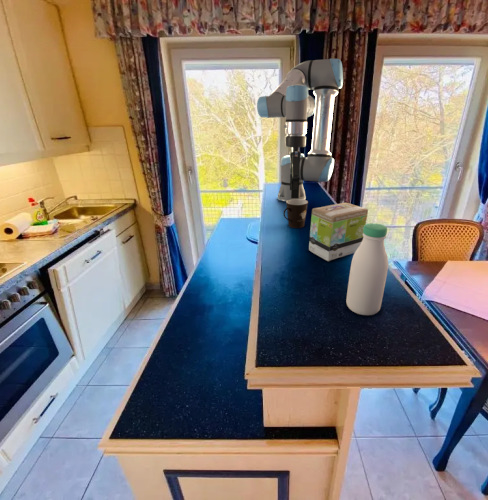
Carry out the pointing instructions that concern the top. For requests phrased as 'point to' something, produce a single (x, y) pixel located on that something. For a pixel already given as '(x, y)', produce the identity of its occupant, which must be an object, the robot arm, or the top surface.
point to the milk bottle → (368, 272)
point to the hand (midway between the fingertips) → (293, 194)
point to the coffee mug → (296, 212)
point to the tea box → (336, 230)
